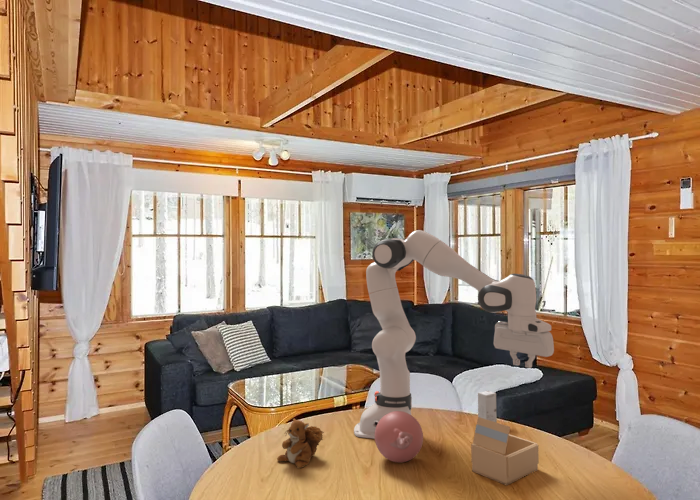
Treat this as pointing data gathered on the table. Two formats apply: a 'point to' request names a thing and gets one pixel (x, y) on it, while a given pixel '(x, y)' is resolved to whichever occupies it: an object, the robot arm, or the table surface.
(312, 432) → the stuffed squirrel
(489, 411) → the skincare box
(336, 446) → the table surface
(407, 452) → the balloon
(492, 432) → the front flap
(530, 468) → the carton
